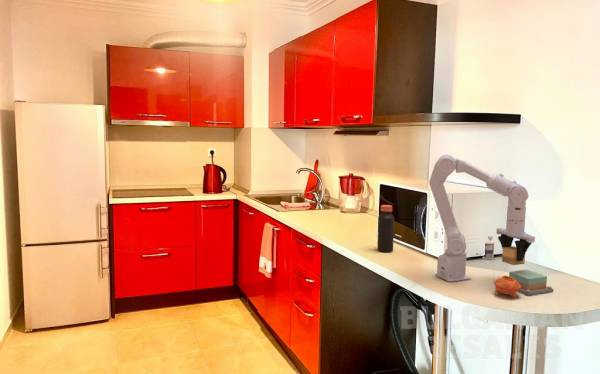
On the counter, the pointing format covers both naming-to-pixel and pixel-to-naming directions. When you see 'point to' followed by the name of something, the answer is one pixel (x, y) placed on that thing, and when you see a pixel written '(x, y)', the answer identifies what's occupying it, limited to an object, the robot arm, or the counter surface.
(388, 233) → the black water bottle
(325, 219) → the counter surface
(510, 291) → the orange rounded lump
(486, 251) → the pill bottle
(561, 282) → the counter surface
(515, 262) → the ochre brick
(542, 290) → the teal block with base
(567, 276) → the counter surface
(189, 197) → the counter surface
